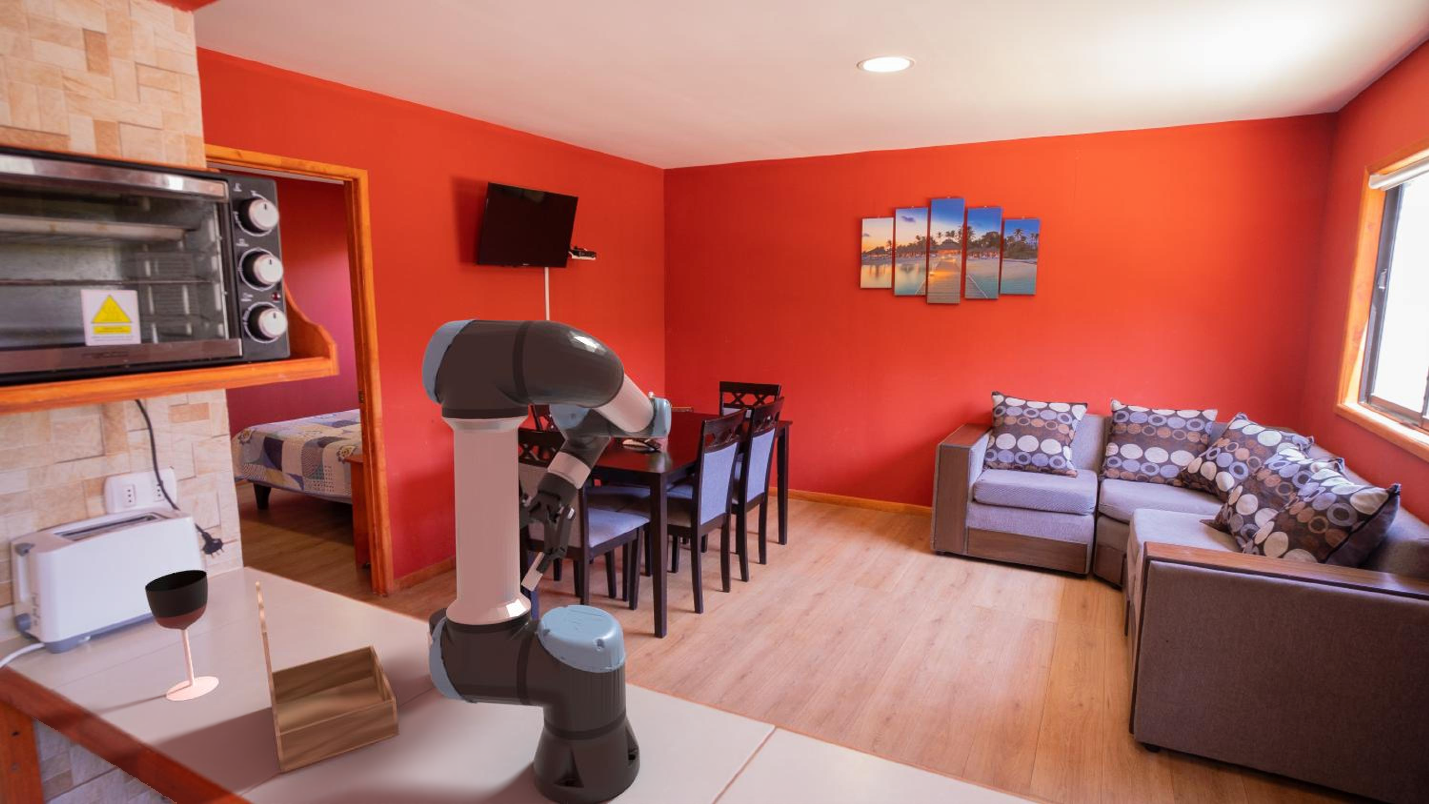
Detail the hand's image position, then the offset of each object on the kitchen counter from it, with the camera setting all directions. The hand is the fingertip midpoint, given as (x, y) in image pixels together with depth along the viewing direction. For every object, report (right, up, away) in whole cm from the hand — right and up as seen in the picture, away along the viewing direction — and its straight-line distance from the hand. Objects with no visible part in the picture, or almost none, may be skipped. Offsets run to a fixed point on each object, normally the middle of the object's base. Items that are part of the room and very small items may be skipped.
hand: (503, 578), depth 136 cm
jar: (-6, -17, -5) cm, 19 cm away
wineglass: (-52, -17, -8) cm, 55 cm away
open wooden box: (-22, -19, -17) cm, 34 cm away
